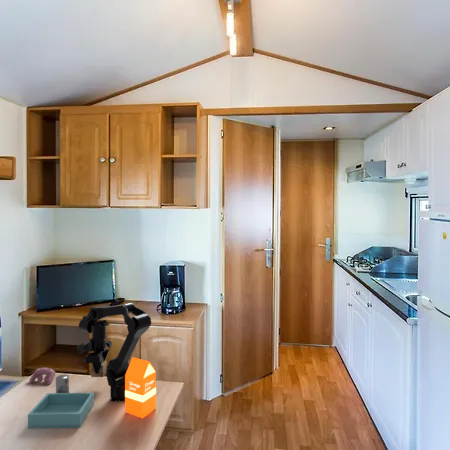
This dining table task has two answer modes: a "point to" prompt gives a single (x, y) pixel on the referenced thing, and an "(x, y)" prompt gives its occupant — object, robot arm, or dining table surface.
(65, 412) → the tote
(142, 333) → the robot arm
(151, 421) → the dining table surface
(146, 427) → the dining table surface
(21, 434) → the dining table surface
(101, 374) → the walnut cube
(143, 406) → the orange juice
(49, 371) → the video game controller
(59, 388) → the steel cylinder
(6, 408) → the dining table surface
